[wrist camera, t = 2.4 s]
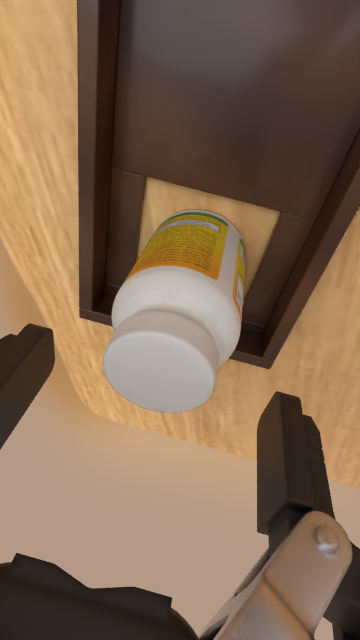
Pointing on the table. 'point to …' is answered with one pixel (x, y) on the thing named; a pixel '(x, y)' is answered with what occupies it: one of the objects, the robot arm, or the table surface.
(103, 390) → the table surface
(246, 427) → the table surface
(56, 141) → the table surface
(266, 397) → the table surface
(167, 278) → the supplement bottle
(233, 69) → the tray
